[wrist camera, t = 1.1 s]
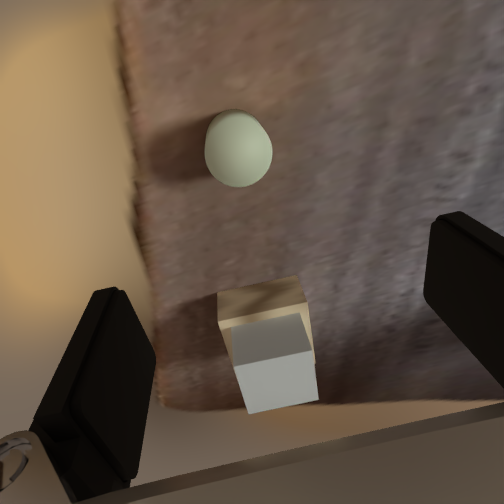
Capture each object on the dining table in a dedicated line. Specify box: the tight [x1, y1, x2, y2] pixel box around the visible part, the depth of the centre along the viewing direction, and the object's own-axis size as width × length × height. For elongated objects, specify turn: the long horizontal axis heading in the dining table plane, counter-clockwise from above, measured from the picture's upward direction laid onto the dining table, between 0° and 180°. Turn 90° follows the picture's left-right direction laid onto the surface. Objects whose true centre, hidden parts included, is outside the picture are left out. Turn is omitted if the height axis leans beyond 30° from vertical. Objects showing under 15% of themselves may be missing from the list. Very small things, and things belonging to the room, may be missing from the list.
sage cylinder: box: [205, 109, 272, 187], centre depth 26 cm, size 5×5×5 cm
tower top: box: [231, 312, 319, 414], centre depth 33 cm, size 7×7×5 cm
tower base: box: [217, 275, 316, 380], centre depth 37 cm, size 9×9×5 cm
